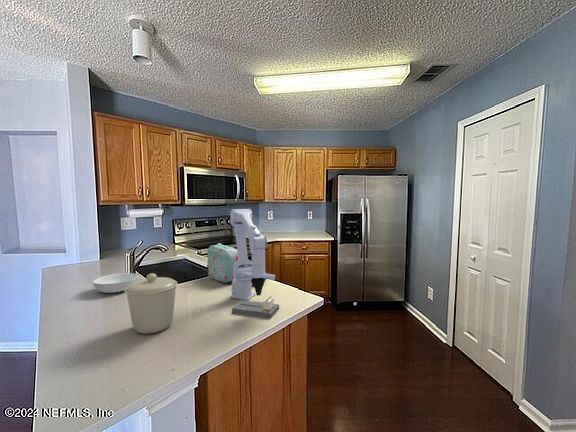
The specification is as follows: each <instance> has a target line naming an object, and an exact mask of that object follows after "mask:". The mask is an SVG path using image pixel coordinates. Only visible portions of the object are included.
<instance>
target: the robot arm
mask: <svg viewBox="0 0 576 432" xmlns="http://www.w3.org/2000/svg"><path fill="white" fill-rule="evenodd" d="M229 217H230V225H231V226H232V228H234V232H235V242H236V250H237V252H238V261H237V262H236V263H235V264H234V265H233V276H234V278H235V279H234V280H233V281H232V282H231V296H230V298H231V299H238V300H239V299H240V300H247V301H249V300H250V299H251V298H252V297H254V296H255V295H256V296H261V295H262V293H263V292H262V290H263V287H264V284H266V283H265V282H266V281H267V280H268V281H269V280H271V281H274V280H275V279H276V275H275V274H271V273H267V272H266V249H267V248H268V239H267V237H266V235H263V234H261V231H260V230H259V228H258V226H256V225H254V222H253V221H252V220H253V211H252V209H251V208H237V209H236V208H235V209H234V208H232V209H231V210H230V216H229ZM246 236H247V238H248V240H249V243H248V245H249V249H250V254H251V260H250V259H249V258H248V249H247V248H248V247H247V238H246ZM245 265H248V266H245ZM238 266H239V267H238ZM251 279H252V280H251ZM251 282H252V284H253V286H254V287H252V285H251ZM253 288H254V291H255V293H254V292H253V291H252V289H253Z"/></svg>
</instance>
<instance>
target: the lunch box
mask: <svg viewBox="0 0 576 432" xmlns="http://www.w3.org/2000/svg"><path fill="white" fill-rule="evenodd" d="M237 261H238V252H237V248H235V247H231V246H228V245H223V244H222V243H221V242H220V243H217V244H214V245H210V246H208V248H207V264H206V270H207V275H208V276H209V278H211V279H213V280H215V281H218V282H221V283H224V284H227V283H232V281H233V280H234V279H235V278H234V276H233V265H234V264H235V263H236V262H237ZM238 267H240V266H238Z"/></svg>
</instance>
